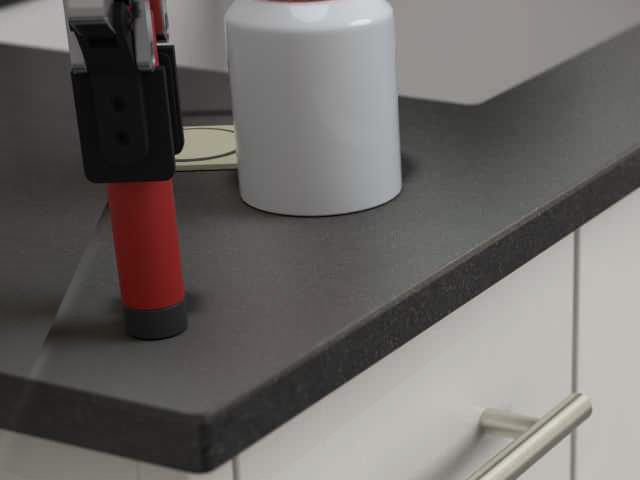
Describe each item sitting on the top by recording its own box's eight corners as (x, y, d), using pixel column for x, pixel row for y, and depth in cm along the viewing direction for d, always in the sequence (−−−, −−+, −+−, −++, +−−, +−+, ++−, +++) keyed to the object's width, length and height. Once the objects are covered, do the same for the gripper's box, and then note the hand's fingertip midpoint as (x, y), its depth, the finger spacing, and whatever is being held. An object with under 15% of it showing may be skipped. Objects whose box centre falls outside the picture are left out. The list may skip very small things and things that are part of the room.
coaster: (103, 173, 81) (102, 166, 81) (122, 134, 87) (121, 127, 87) (265, 168, 82) (264, 160, 82) (272, 129, 88) (272, 122, 88)
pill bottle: (221, 178, 80) (198, -55, 75) (370, 158, 83) (358, -69, 78) (265, 226, 74) (243, -25, 69) (425, 202, 77) (416, -42, 71)
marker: (121, 341, 63) (78, 21, 57) (129, 317, 65) (89, 6, 59) (185, 338, 63) (148, 18, 57) (191, 314, 65) (156, 4, 59)
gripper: (-3, -399, 59) (69, 111, 67) (-121, -401, 45) (-11, 244, 53) (209, -402, 59) (253, 106, 68) (158, -405, 45) (222, 236, 54)
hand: (136, 162), depth 60 cm, fingers closed on marker, 2 cm apart
